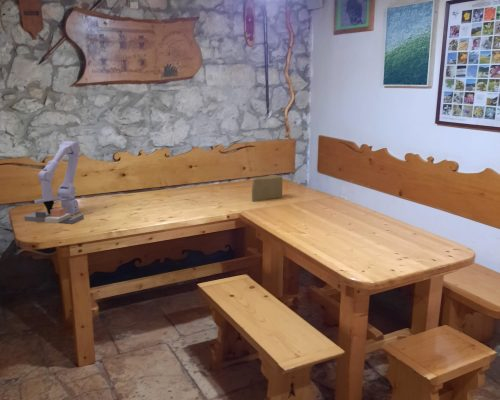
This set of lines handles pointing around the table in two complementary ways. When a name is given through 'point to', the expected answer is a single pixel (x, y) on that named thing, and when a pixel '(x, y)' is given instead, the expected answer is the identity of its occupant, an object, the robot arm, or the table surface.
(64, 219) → the tunnel deck
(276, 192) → the olive upright slab
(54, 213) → the block
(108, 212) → the table surface
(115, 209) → the table surface
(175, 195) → the table surface
